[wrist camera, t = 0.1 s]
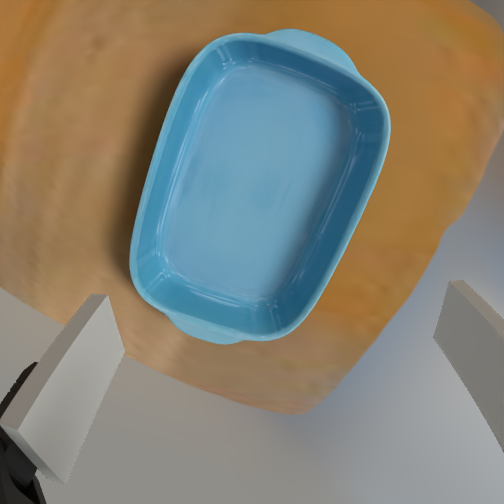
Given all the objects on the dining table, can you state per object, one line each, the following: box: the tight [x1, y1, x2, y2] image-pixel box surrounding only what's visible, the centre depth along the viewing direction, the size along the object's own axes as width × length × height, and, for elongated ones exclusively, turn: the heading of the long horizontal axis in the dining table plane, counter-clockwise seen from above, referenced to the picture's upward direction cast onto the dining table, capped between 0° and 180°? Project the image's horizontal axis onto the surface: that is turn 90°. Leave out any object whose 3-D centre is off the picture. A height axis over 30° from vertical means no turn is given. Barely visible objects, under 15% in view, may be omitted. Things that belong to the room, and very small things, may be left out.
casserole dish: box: [129, 29, 391, 344], centre depth 34 cm, size 37×22×7 cm, turn 160°
